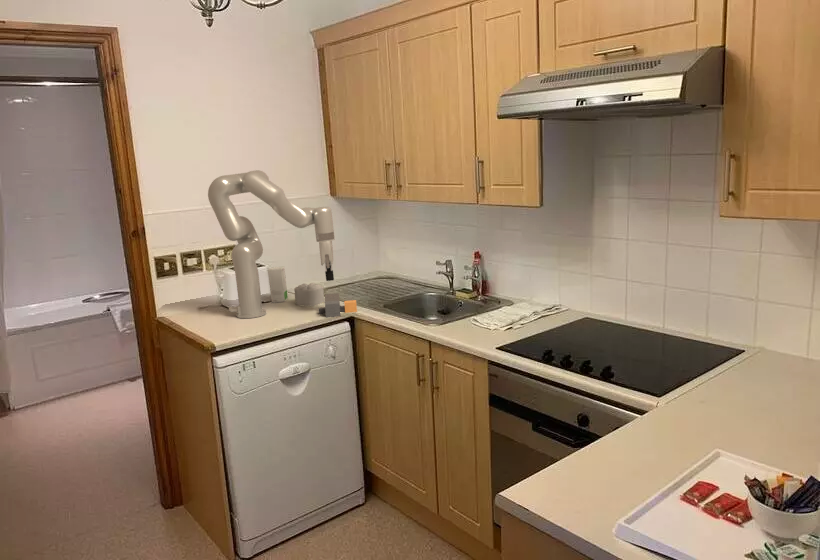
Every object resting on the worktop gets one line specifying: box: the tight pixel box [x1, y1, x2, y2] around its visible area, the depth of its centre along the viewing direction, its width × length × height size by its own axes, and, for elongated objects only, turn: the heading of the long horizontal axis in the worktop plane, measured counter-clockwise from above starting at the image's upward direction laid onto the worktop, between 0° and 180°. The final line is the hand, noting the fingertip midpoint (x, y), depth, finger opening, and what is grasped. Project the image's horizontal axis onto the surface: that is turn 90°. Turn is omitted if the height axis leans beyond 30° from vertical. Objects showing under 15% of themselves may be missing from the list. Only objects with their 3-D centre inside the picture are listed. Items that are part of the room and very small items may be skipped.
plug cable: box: [318, 299, 358, 315], centre depth 275 cm, size 16×4×4 cm, turn 96°
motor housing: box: [324, 293, 342, 318], centre depth 274 cm, size 6×14×7 cm, turn 7°
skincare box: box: [267, 266, 289, 304], centre depth 302 cm, size 8×7×16 cm
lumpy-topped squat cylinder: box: [294, 282, 325, 307], centre depth 294 cm, size 10×13×9 cm
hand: (330, 280), depth 272 cm, fingers closed
